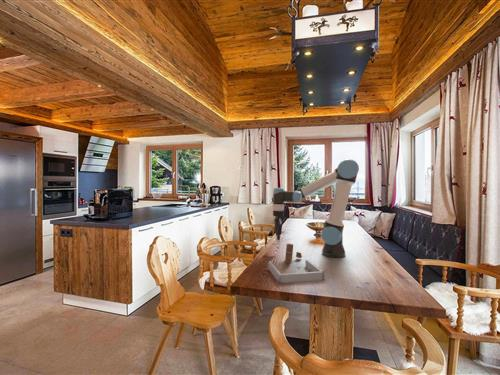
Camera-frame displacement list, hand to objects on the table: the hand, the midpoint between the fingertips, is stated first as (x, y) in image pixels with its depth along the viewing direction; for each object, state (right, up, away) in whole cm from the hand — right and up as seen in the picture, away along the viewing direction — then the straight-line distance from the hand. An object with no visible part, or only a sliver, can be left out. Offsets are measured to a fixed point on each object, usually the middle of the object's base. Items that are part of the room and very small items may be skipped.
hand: (277, 244), depth 175 cm
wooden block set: (+6, -7, -17) cm, 20 cm away
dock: (+5, -8, -38) cm, 39 cm away
